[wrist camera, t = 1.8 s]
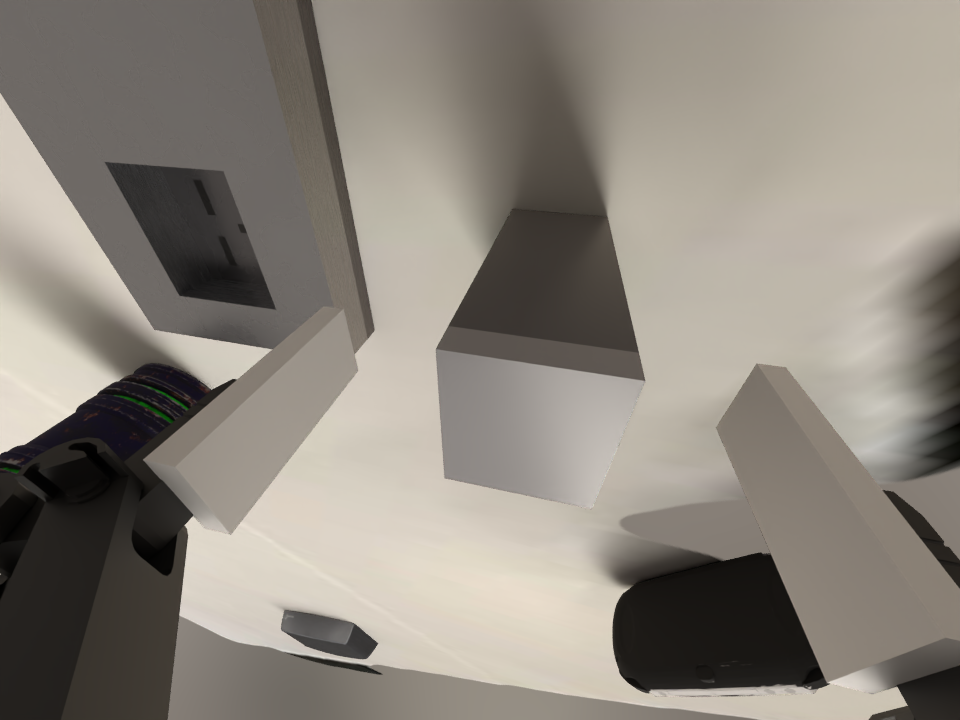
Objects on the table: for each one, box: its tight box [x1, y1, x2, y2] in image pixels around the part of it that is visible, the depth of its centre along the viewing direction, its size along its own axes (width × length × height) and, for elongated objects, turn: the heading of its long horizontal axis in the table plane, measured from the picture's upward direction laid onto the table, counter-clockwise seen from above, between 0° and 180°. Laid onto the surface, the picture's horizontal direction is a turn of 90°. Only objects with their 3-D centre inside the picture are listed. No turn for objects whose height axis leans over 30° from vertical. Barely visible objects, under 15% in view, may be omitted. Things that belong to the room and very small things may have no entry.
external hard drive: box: [281, 610, 378, 659], centre depth 78 cm, size 13×19×4 cm
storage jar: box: [0, 363, 211, 475], centre depth 29 cm, size 10×10×15 cm
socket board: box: [0, 0, 374, 354], centre depth 16 cm, size 14×26×4 cm, turn 179°
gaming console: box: [613, 553, 830, 697], centre depth 29 cm, size 19×9×2 cm
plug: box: [436, 209, 645, 509], centre depth 14 cm, size 4×5×12 cm
